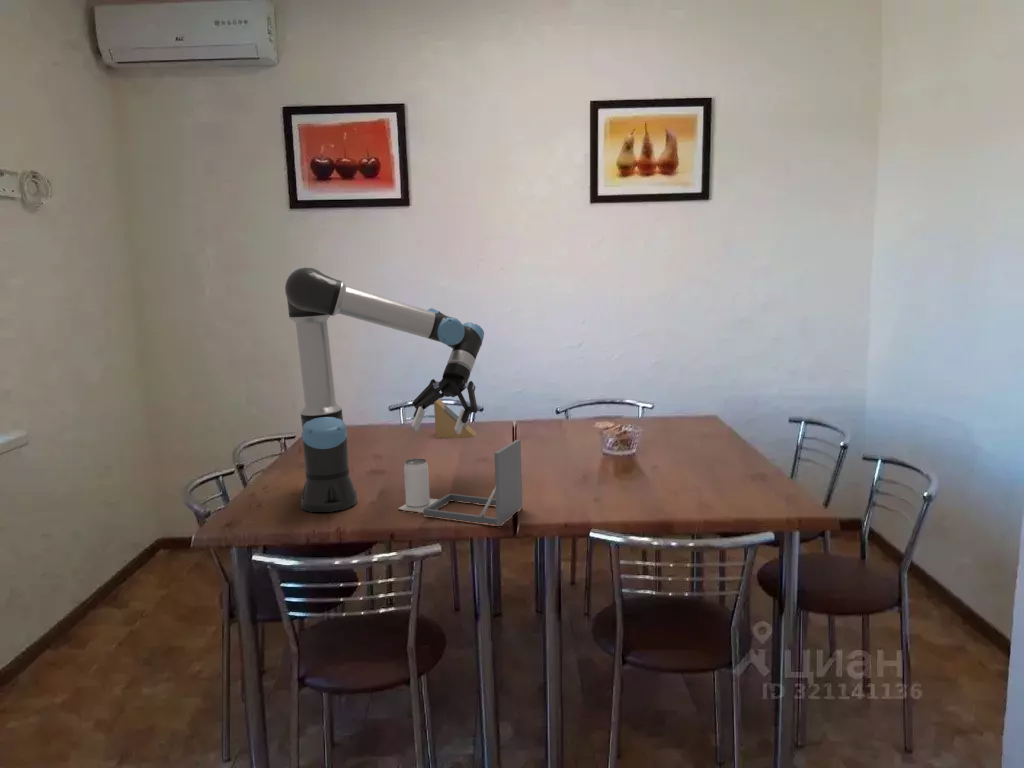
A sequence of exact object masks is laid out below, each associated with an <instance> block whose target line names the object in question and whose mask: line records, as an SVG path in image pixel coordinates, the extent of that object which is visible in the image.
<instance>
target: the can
mask: <svg viewBox="0 0 1024 768" xmlns="http://www.w3.org/2000/svg"><path fill="white" fill-rule="evenodd" d="M404 463H405V464H404V467H403V475H404V476H403V477H404V493H405V504H407V505H408V506H409V507H423V506H426V505H428V504H429V502H430V499H431V497H430V480H429V479H430V477H429V475H430V474H429V467H428V463H427V460H426V458H421V457H420V458H419V457H418V458H417V457H416V458H410V459H409V458H408V459H406V460H405V462H404Z"/></svg>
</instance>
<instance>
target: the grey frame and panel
mask: <svg viewBox="0 0 1024 768" xmlns="http://www.w3.org/2000/svg"><path fill="white" fill-rule="evenodd" d="M521 440H522V439H515V440H514V441H512V442H510V443H509V444H506V445H505V446H504V447H501V448H499V450H497V451H495V452H494V455H493V456H494V477H495V478H494V481H495V487H494V489H493V490H492V492H491V494H490V496H489V497H485V496H484V497H482V496H474V495H466V494H458V493H448V494H446V495H444V496H442V497H441V498H439V499H438V501H436V502H435V503H433V504H431V505H430V506H428V507H427V508H425V509H424V510H423V514H422V515H423V516H424V515H426V516H433V517H441V518H449V519H456V520H463V521H470V522H478V523H488V524H495V525H499V526H500V525H501V524H502V523H503V522H505V521H506V520H507V519H509V518H510V517H511V516H513V515H514V514H515V513H516V512H517V511H518V510H519V509H520V508H521V507H522V508H523V488H522V487H523V485H522V484H523V482H522V479H523V476H522V475H523V474H522V446H521V445H522V444H521ZM494 497H495V498H494ZM450 500H453V501H463V502H470V503H479V504H486V505H485V506H483V509H482V510H481V512H480V514H479V515H478V514H473V513H472V514H470V513H462V512H457V511H456V512H455V511H449V510H442V509H439V510H436V509H438V508H440V507H441V506H443V505H444V504H446V503H447V502H449V501H450ZM489 504H490V505H496V507H495V511H496V513H495V514H496V517H492V516H485V513H486V511H487V510H488V508H489Z"/></svg>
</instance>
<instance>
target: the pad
mask: <svg viewBox="0 0 1024 768" xmlns="http://www.w3.org/2000/svg"><path fill="white" fill-rule="evenodd" d="M438 500H439V499H438V498H430V502H429V504H428V505H426V506H423V507H409V506H408V505H407V504H406V503H405V504H403V505H402V506H400V507H399V508H398V509H402V510H409V511H418V512H423V510H424V509H425V508H427V507H428V506H430V505H431V504H433V503H435V502H436V501H438ZM398 509H397V510H398Z"/></svg>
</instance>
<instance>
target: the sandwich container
mask: <svg viewBox="0 0 1024 768" xmlns="http://www.w3.org/2000/svg"><path fill="white" fill-rule="evenodd" d="M433 408H434V410H433V412H434V425H435V426H434V428H435V429H434V430H435V439H458V438H457V437H465V438H476V437H475V435H476V436H477V432H476V430H475V429H473V428H472V427H471V426H469V425H468V423H467V422H466V423H464V425H463V427H462V430H461V433H460V434H457V433H456V431H455V430H454V428H455V425H456V422H457V420H458V417H459V415H458V414H456V413H455V412H454V411H453V410H452V409H450V408H449V407H448V405H446V404H445V403H444V402H443V401H442V400H441V398H439V399H438V400H437V401H435V402H434V403H433Z"/></svg>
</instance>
